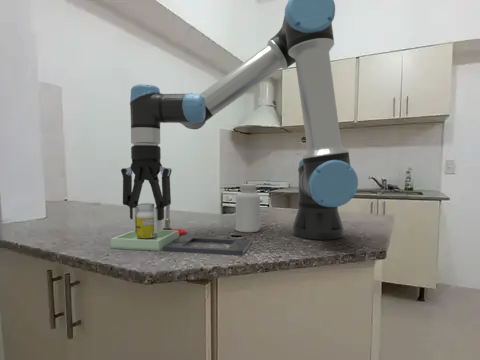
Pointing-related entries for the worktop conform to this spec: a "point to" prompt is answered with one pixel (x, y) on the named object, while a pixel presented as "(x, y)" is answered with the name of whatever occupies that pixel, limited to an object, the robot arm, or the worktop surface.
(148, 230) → the supplement bottle
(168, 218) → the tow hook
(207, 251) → the dark grey slotted board
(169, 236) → the tray
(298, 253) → the worktop surface
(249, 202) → the pill bottle
